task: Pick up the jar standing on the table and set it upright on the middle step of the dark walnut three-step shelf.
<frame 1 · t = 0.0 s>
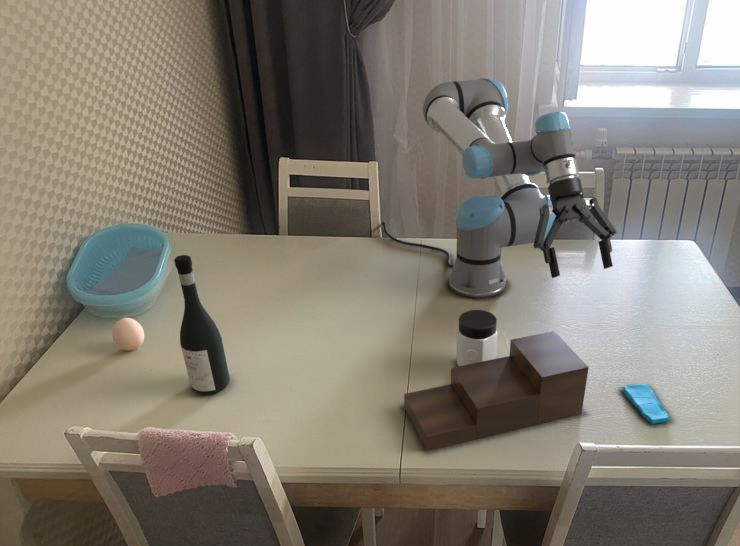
hand: (582, 272, 155), 15 cm above the table, tool tilted 35°, fingers open, 13 cm apart
sponge: (644, 406, 139), on the table
jar: (475, 366, 151), on the table
step shelf: (492, 410, 138), on the table
wine bottle: (211, 386, 145), on the table
egg: (132, 349, 157), on the table
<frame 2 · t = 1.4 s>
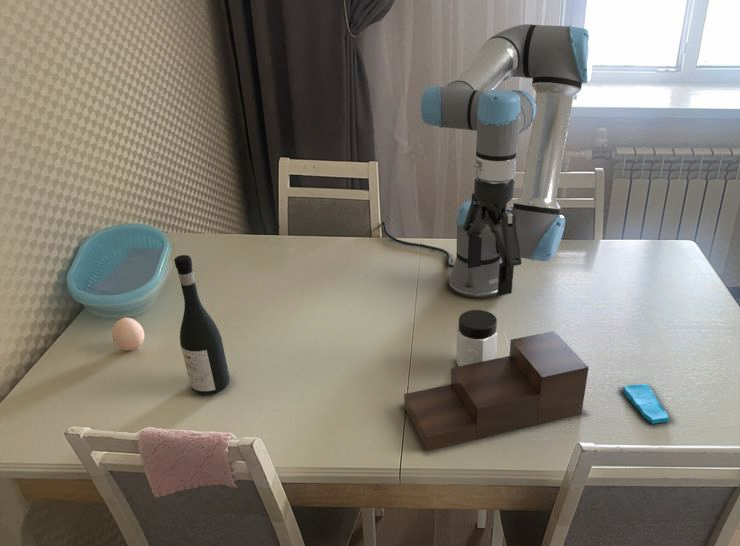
hand: (488, 279, 140), 21 cm above the table, tool pointing down, fingers open, 13 cm apart
nothing on the table moved.
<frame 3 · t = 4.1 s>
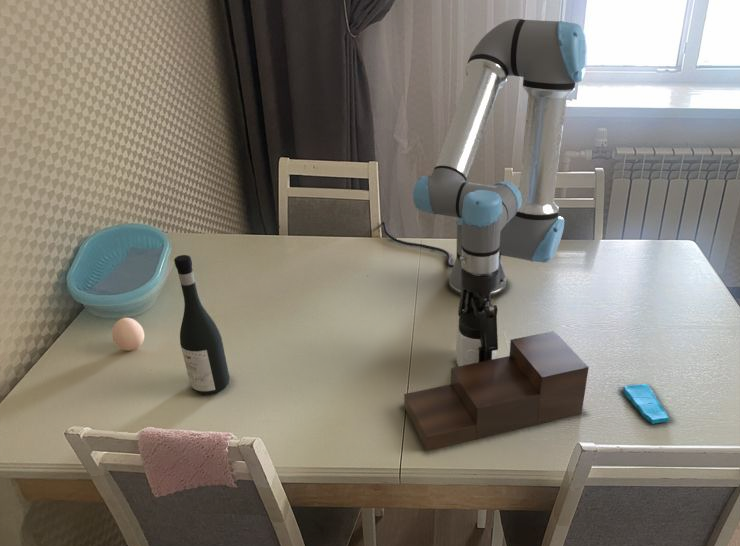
hand: (476, 360, 150), 1 cm above the table, tool pointing down, fingers closed on jar, 9 cm apart
jar: (475, 366, 151), on the table, touching gripper
everything else where it was.
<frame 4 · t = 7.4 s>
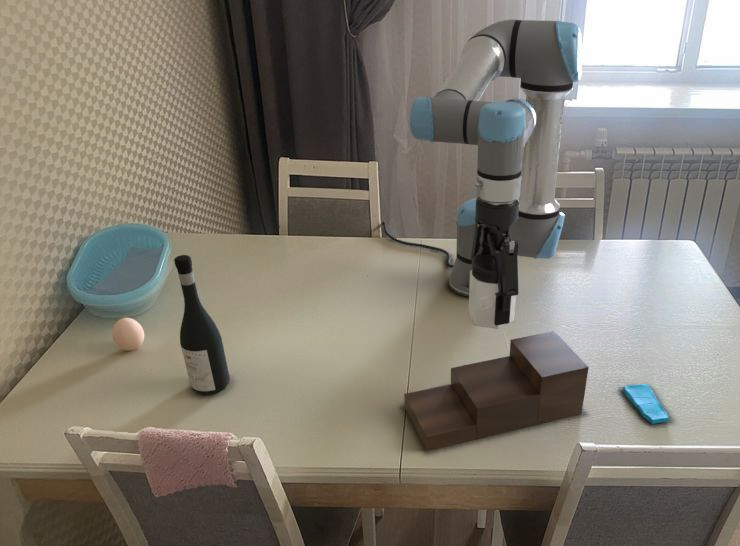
hand: (491, 311, 130), 21 cm above the table, tool pointing down, fingers closed on jar, 9 cm apart
jar: (491, 318, 131), point 19 cm above the table, touching gripper
everything else where it was.
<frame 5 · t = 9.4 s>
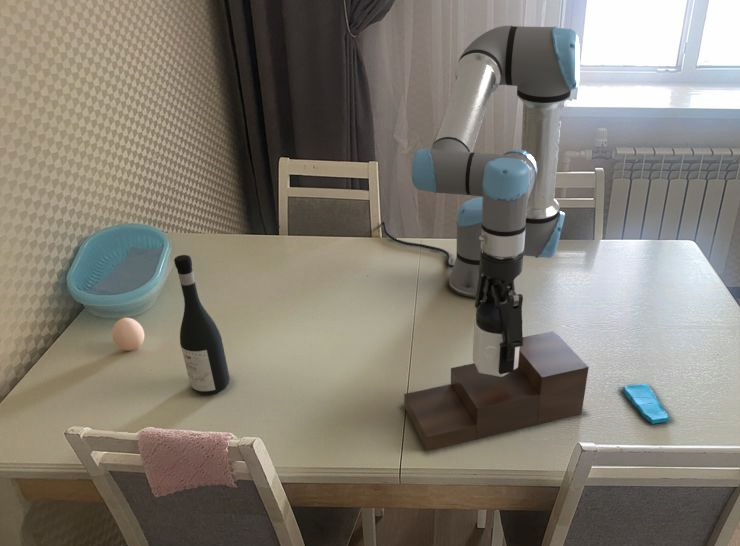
hand: (495, 358, 131), 13 cm above the table, tool pointing down, fingers closed on jar, 9 cm apart
jar: (495, 365, 131), point 11 cm above the table, touching gripper
everything else where it was.
when the fingers open (9 cm above the table, at t = 10.9 s): jar stays where it is, resting on step shelf.
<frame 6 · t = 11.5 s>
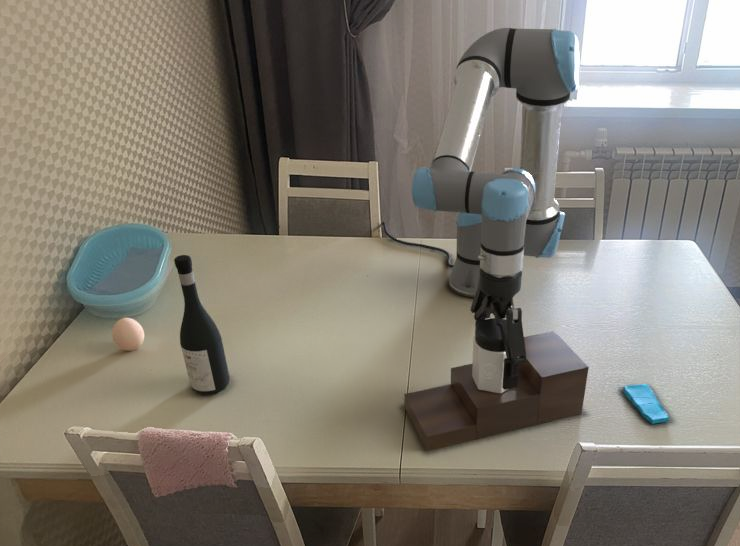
hand: (495, 367, 132), 11 cm above the table, tool pointing down, fingers open, 13 cm apart
jar: (494, 381, 134), point 7 cm above the table, touching step shelf
everything else where it was.
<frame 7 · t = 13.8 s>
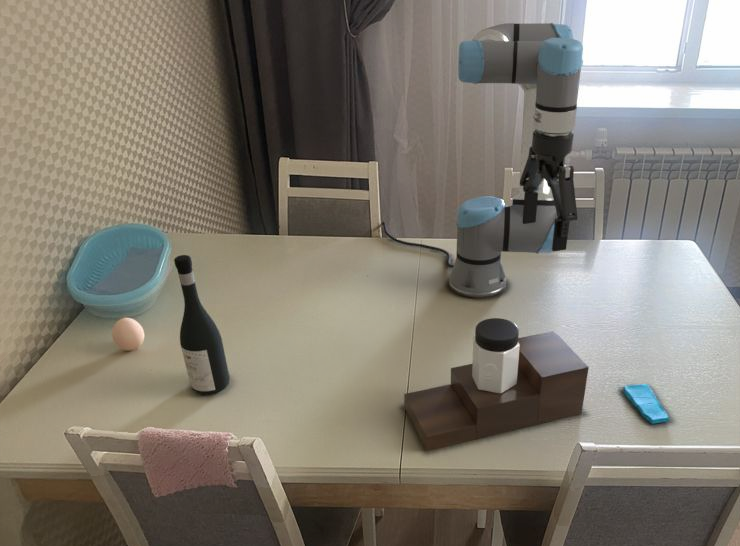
hand: (543, 235, 138), 29 cm above the table, tool pointing down, fingers open, 13 cm apart
nothing on the table moved.
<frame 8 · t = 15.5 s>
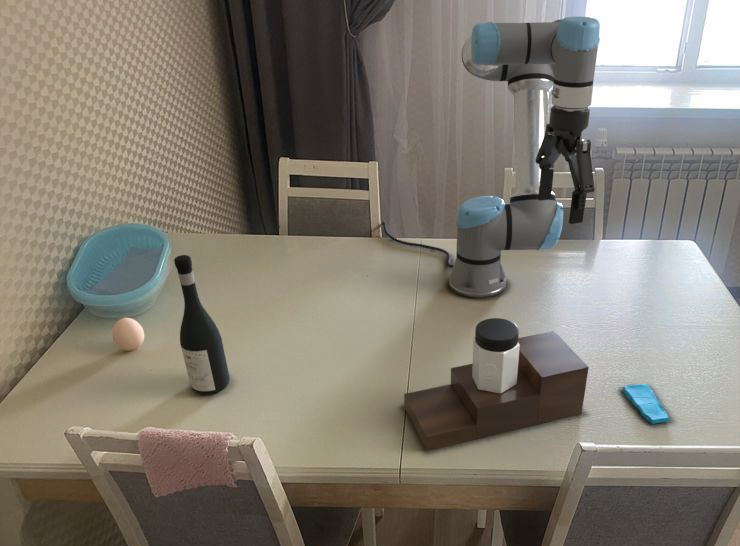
hand: (559, 210, 143), 32 cm above the table, tool pointing down, fingers open, 13 cm apart
nothing on the table moved.
at the end: jar inside the target area on the step shelf (0.0 cm from its centre), point 7.3 cm above the step shelf's base; jar tilted 0°; the gripper is holding nothing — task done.
